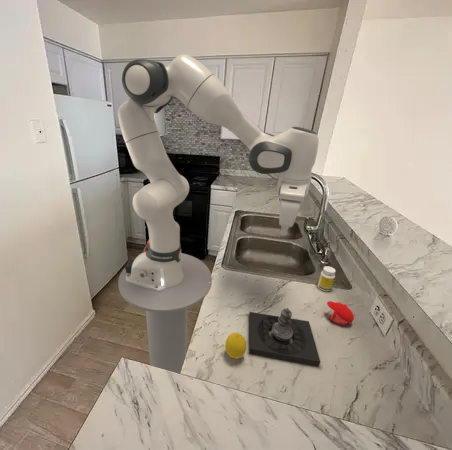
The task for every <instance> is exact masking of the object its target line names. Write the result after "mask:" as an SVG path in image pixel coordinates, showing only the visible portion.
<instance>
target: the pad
mask: <svg viewBox="0 0 452 450" xmlns="http://www.w3.org/2000/svg"><path fill="white" fill-rule="evenodd" d="M279 317H280V315H273V314H265V313H259V312H253V311H249V314H248V350H249V351H248V353H249V354H250V355H255V356H260V357H266V358H270V359H277V360H280V361H281V360H282V361H286V362H291V363H297V364H303V365H308V366H314V367H319V366H320V363H321V358H320V356H319V352H318V348H317V344H316V341H315V338H314V335H313V331H312V327H311V324H310V323H311V322H310V320H303V319H296V318H291V325H289V327H290V328H291V329H292V331H293V336H292V337H291V339H292V342H290V343H289V345H282V344H279V343H277V342H275V341H274V340H273V339H272V338H271V334H270V331H272V325H273V324H275V323H278V322H279V321H278V318H279Z"/></svg>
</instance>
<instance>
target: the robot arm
mask: <svg viewBox="0 0 452 450" xmlns="http://www.w3.org/2000/svg"><path fill="white" fill-rule="evenodd" d="M121 75H122V76H121V85H122V87H123V90H124V92H125V94H126V95H127V96H128V98H129V99H128V100H126V101H123V103H121V104H120V106H119V107H118V109H117V118H118V124H119V128H120V131H121V135H122V138H123V140H124V143H125V145H126V148H127V150H128V153H129V156H130V160H131V162H132V165H133V166H134V167H135V169H136V170H138V171H140V172H142V174H144V175H145V177H146V178H147V179H148V181H149V182H150V183H148V184H146V185H145V184H144V185H143V186H142V187H141V188H140V189H139V190H138V191H137V192H136V193H134V195H133V197H132V208H133V210H134V212H135V213H136V215H137V216H138V217H139V218H141V219H142V220H144V221H145V223H146V226H147V230H148V237H149V238H148V240H147V241H146V244H145V246H144V248H143V252H142V253H139V255H137V256H136V257H135V258H134V259H131V258H130V259H128V261H127V263H126V264H125V267H124V268H125V270H126V273H127V274H126V282H127V283H130V284H134V285H137V286H140V287H143V288H147V289H150V290H153V291H156V292H162V291H164V290H165V289H167V288H171V287H174V286H176V285H178V284H180V283H181V282H182V281H183V279H184V273H183V271H182V267H181V260H180V259H181V253H182V245H181V233H180V232H181V226H180V224H179V223H178V222H177V221H175V219H174V210H175V208H176V207H177V206H179V205H180V204H181V203H183V202H184V201H185V199H186V198H187V197H188V194H189V192H190V184H189V182H188V180H187V178H186V177H184V176H183V175H182V174H181V173H179V172H178V170H177V169H176V167H175V166H174V164H173V163H172V161H171V160H170V157H169V155H168V154H167V151H166V148H165V146H164V143H163V141H162V137H161V135H160V133H159V130H158V126H157V124H156V121H155V114H158V113H159V112H161V110H163V109H164V108H165V107H166V106H168V105H169V104H170V103H171V102H172V101H173V100H174V98H176V99H177V100H179V101H180V102H181V103H182V104H183V105H184V106H185V107H186V108H187V109H188V110H189V111H190V112H191V113H193V114H194V115H195V116H196V117H198V119H201V120H202V121H204V122H206V123H208V124H212V125H217V126H220V127H222V128H225V129H226V130H228V131H229V132H231V133H232V134H233V135H234V136H235V137H236V138H237V139H238V140H239V141H241V142H242V143H243V144H244V145H245V146H246V148H248V150H249V154H248V163H249V165H250V168H251V169H252V170H253V171H254V172H255V173H257V174H261V175H270V174H278V179H277V184H276V192H277V194H278V199H279V200H280V201H279V214H278V215H279V217H278V225H279V226H281V227H280V235H281V236H287V234H288V230H289V229H290V228H292V227H293V226H294V224H295V221H296V219H297V216H298V213H299V210H300V208H301V203H303V202H304V201H305V198H306V196H307V195H308V194H309V189H310V185H311V181H312V170H313V167H314V166H315V164H316V160H317V156H318V150H319V143H320V141H319V140H320V139H319V135H318V134H317V132H315V131H314V130H312V129H309V128H305V127H300V126H291V127H290V128H289V129H287V130H285V131H283V132H280V133H279V134H276V135H275V134H272V133H269V132H265V131H263V130H262V129H261V128H260V127H259V126H258V125H256V124H255V123H254V122H253V120H251V119H250V118H249V117H248V116H247V115H246V114H245V113H244V112H243V111H242V110H241V109H240V107H239V106H238V104H237V103H236V101H235V99H234V98H233V96H232V95H231V93H230V92H229V90H228V89H227V87H226V86H225V85H224V83H222V81H221V80H220V79H219V78H218V77H217V76H216V75H215V74H214V73H213V71H212V70H210V69H209V68H208V67H207V66H206V65H204V64H203V63H201V62H200V61H199V60H197V59H196V58H194V57H192V56H191V55H189V54H188V53H187V54H186V53H183V54H182V53H181V54H179V55H178V56H176V57H174V58H173V59H172V60H171V62H170V63H169V64H168V65H167V66H165V65H164V63H163V62H161V61H155V60H151V59H147V58H146V59H144V58H138V59H134V60H131V61H129V62H128V63H127V64H126V65H125V67H124V68H123V71H122V73H121Z"/></svg>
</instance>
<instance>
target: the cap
mask: <svg viewBox="0 0 452 450" xmlns="http://www.w3.org/2000/svg"><path fill="white" fill-rule="evenodd" d="M326 305H327V306H328V308H330V310H332V311H333V313H332V314H331V317H330V318H329V320H330V321H331V322H334V323H335V324H337V325H340V326H347V325H348V324H352V323H353V322H354V319H355V315H354V313H353V311H352V310H351V308H350V307H348V304H346V303H341V302H335V301H332V300H331V301H327V302H326Z"/></svg>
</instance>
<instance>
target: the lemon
mask: <svg viewBox="0 0 452 450" xmlns="http://www.w3.org/2000/svg"><path fill="white" fill-rule="evenodd" d="M224 347H225V352H226V354H227V355H228V356H229V357H230V358H232V359H234V360H238V359H241V358H243V357H244V356H245V354H246V352H247V340H246V338H245V337H244V335H242V334H241V333H239V332H232V333H230V334H229V335H228V336H227V338H226V340H225V345H224Z"/></svg>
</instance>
